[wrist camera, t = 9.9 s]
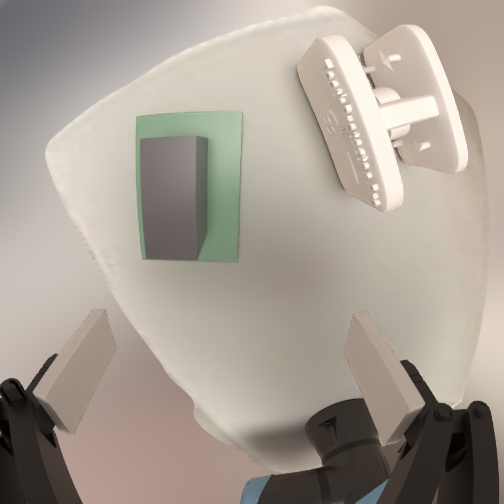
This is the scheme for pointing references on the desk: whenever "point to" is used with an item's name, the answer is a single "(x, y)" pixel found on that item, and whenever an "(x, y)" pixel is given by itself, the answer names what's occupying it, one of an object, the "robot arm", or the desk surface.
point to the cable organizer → (383, 111)
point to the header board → (218, 174)
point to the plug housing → (174, 196)
